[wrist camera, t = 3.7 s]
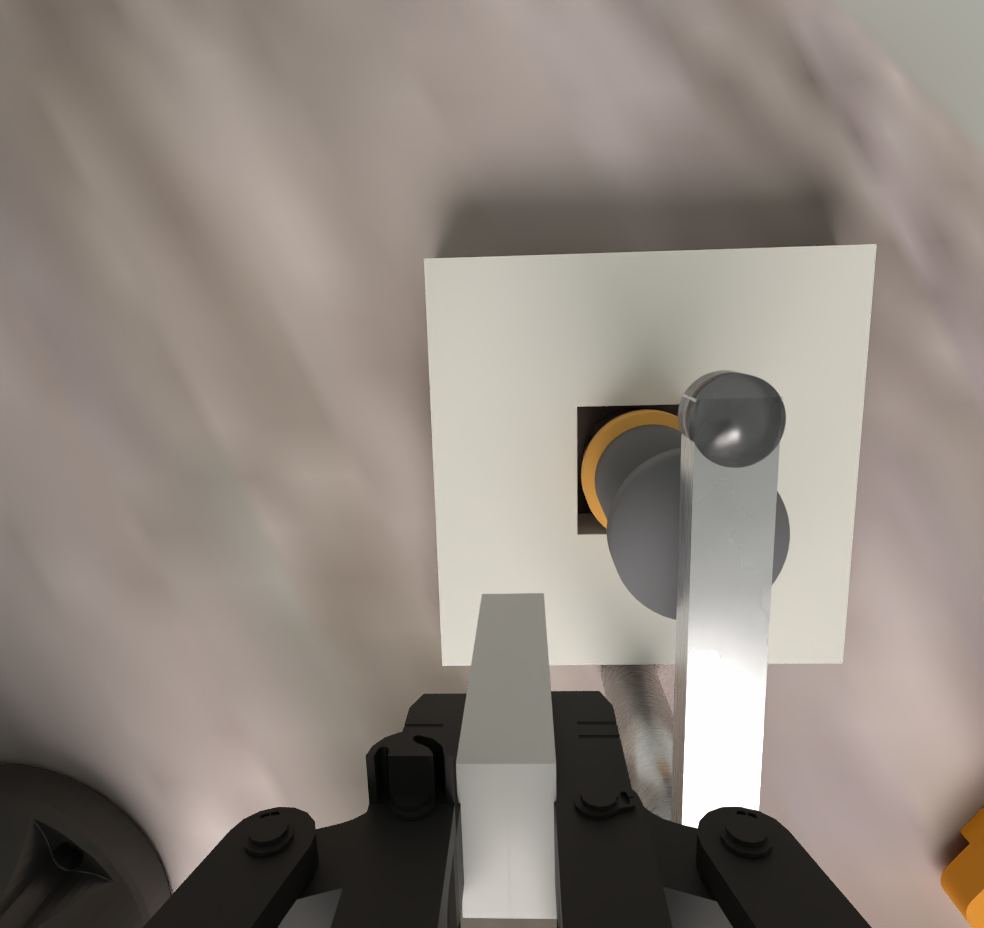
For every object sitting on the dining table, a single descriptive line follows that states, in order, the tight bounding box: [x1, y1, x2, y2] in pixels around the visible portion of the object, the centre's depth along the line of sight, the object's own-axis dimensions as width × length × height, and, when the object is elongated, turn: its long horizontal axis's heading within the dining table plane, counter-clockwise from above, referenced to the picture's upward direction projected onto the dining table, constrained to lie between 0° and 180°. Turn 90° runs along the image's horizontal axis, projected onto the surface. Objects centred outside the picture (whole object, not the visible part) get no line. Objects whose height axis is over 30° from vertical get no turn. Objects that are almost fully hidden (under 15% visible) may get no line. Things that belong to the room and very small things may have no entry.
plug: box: [581, 408, 790, 620], centre depth 24 cm, size 5×5×12 cm
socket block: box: [424, 244, 877, 666], centre depth 28 cm, size 16×16×3 cm
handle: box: [602, 370, 786, 828], centre depth 23 cm, size 2×16×14 cm, turn 2°
